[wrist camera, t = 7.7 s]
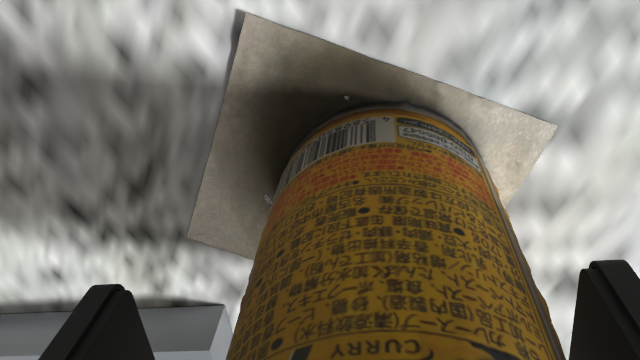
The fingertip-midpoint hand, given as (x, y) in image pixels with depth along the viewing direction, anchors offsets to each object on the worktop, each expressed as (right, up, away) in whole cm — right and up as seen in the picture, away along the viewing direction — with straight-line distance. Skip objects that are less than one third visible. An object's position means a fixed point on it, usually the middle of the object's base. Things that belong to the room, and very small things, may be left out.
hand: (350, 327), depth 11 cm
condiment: (0, +3, +4) cm, 5 cm away
